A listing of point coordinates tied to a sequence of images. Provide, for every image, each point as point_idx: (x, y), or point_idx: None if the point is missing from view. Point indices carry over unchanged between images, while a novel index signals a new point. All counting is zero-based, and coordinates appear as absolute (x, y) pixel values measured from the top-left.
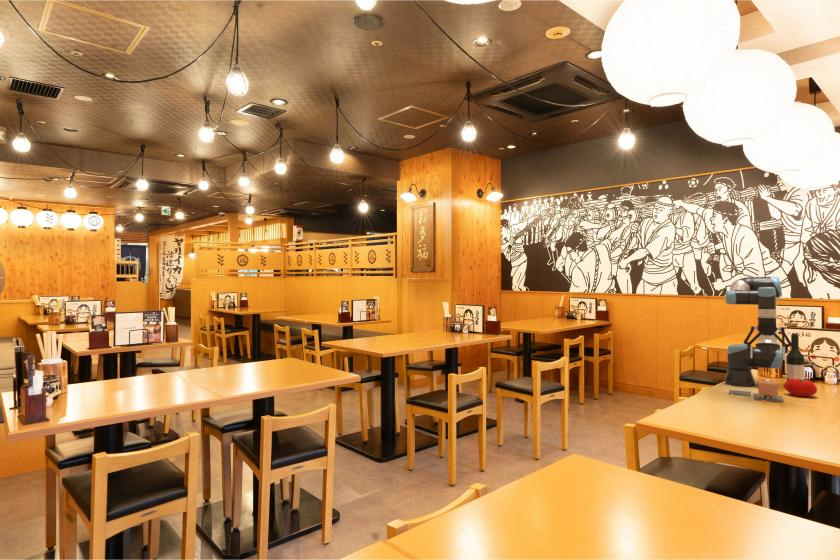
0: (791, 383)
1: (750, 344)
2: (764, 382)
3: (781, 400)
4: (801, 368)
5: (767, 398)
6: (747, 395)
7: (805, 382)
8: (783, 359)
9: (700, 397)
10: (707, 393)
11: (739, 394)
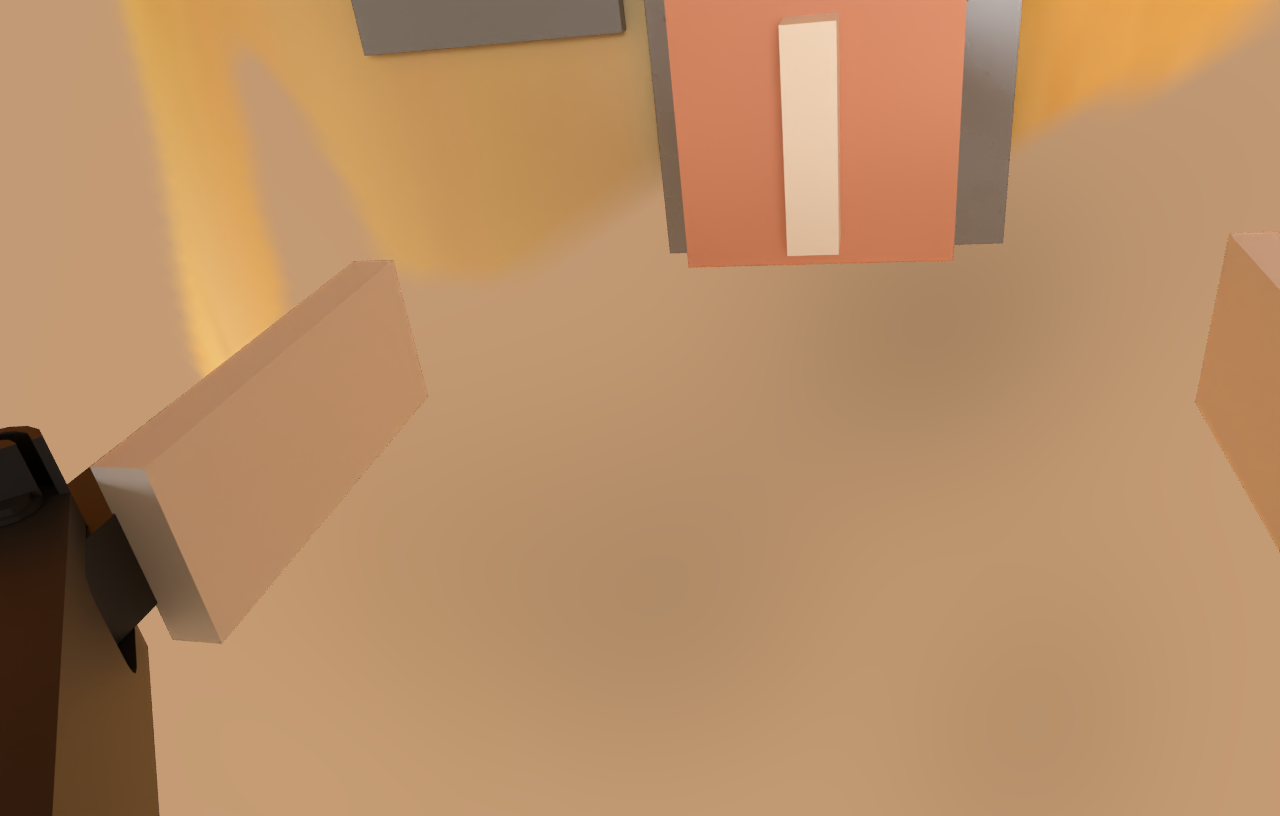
0: None
1: (139, 658)
2: (762, 132)
3: (979, 239)
4: None
5: None
6: (578, 35)
7: None
8: (1206, 409)
9: None
10: (185, 149)
11: (485, 43)
